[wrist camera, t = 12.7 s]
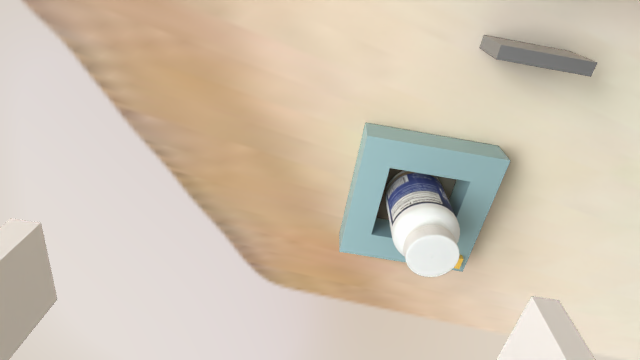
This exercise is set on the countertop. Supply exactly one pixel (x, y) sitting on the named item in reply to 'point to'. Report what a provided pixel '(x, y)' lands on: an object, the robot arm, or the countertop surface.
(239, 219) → the countertop surface
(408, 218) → the pill bottle
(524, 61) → the gray upright plates
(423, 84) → the countertop surface
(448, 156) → the frame
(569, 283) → the countertop surface
